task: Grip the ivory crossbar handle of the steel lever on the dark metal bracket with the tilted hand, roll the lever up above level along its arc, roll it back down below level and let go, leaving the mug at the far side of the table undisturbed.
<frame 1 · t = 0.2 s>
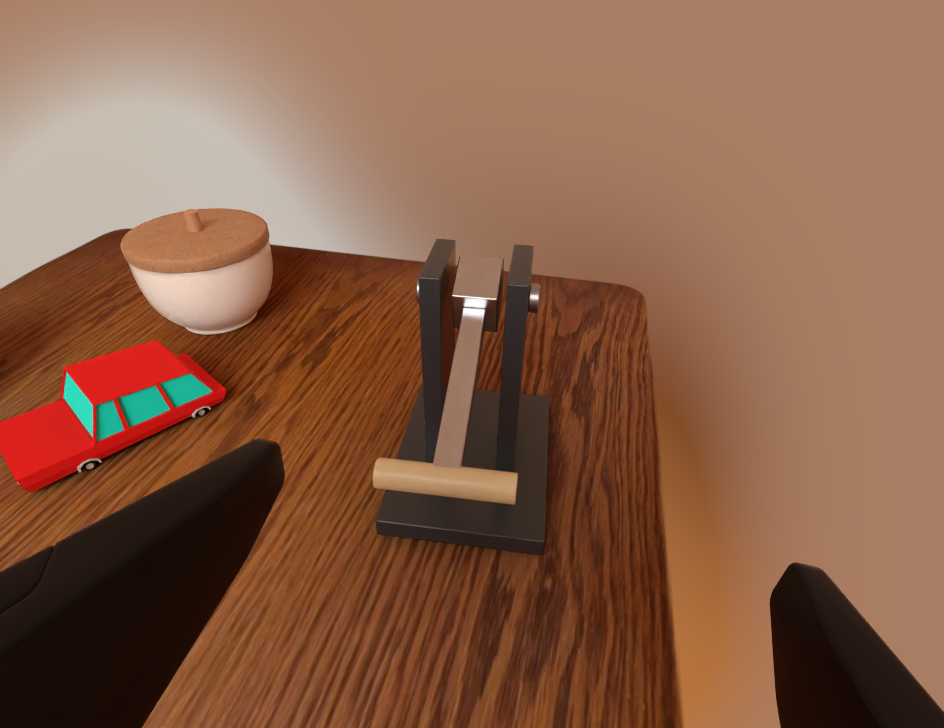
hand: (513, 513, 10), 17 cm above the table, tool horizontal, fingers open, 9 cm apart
lever: (465, 368, 24), point 11 cm above the table, hinge at -18.0°
bracket: (473, 464, 34), on the table
trinket box: (221, 317, 48), on the table
toy car: (122, 426, 36), on the table
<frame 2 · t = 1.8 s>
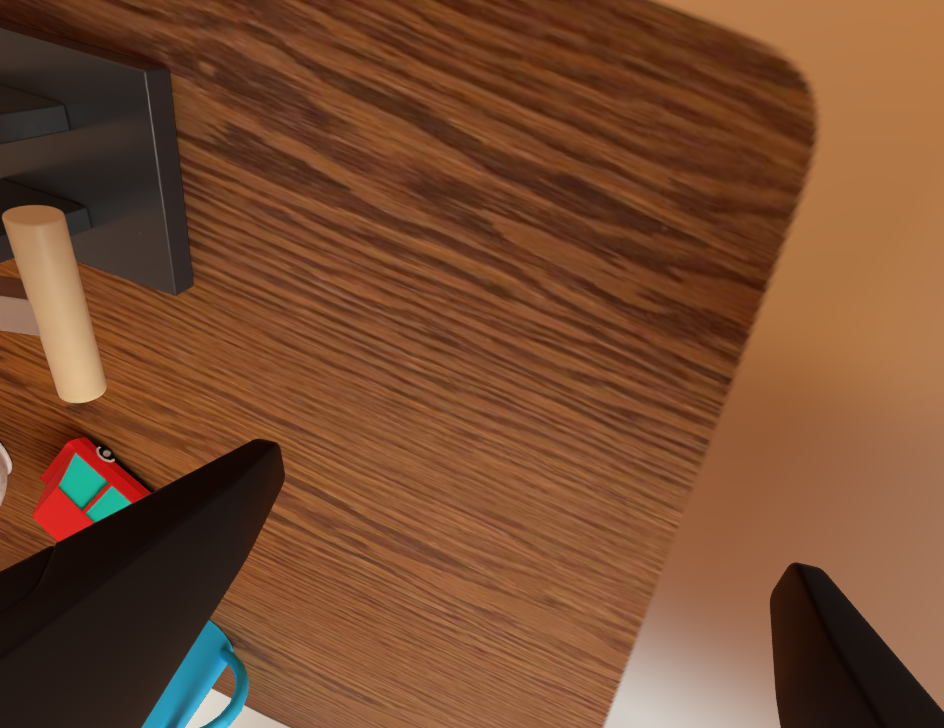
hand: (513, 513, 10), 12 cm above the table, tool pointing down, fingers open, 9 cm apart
bracket: (60, 149, 23), on the table
toy car: (147, 506, 37), on the table
mug: (210, 635, 45), on the table
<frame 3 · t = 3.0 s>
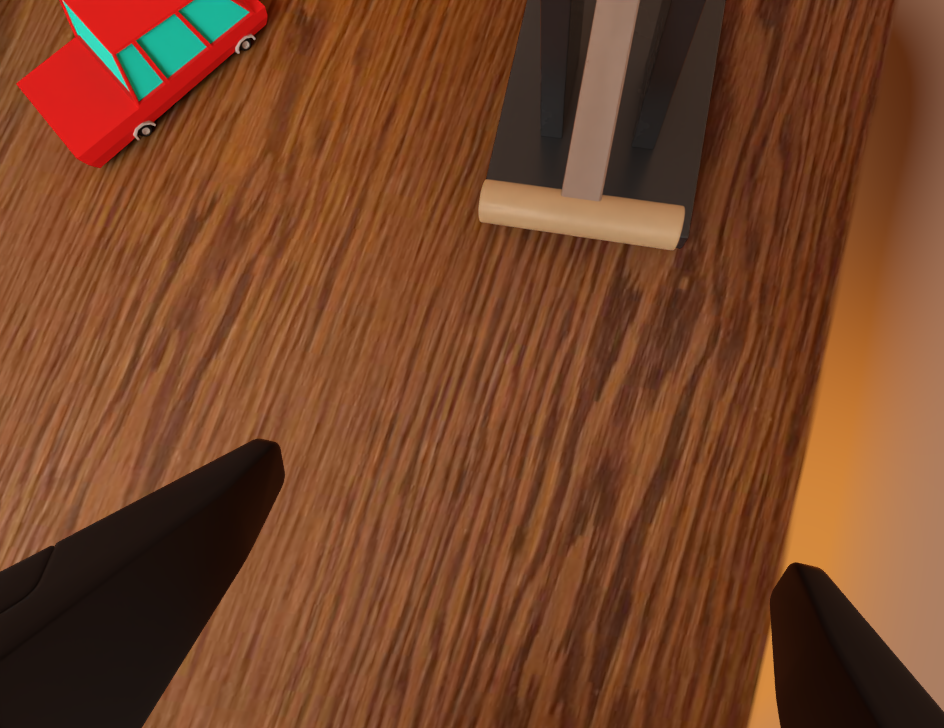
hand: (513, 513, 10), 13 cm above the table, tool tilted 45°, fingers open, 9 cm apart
lever: (616, 9, 15), point 11 cm above the table, hinge at -18.0°
bracket: (601, 116, 26), on the table
toy car: (161, 69, 30), on the table
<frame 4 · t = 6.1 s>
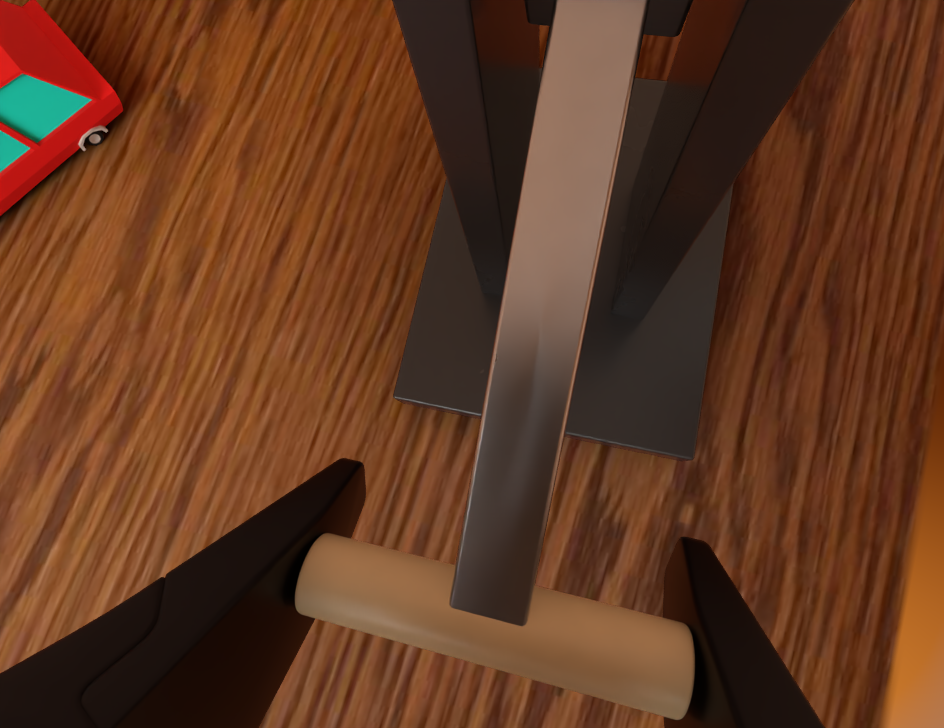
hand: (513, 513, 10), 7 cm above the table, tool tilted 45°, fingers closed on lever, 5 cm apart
lever: (557, 245, 7), point 11 cm above the table, hinge at -18.0°, touching gripper
bracket: (571, 255, 18), on the table
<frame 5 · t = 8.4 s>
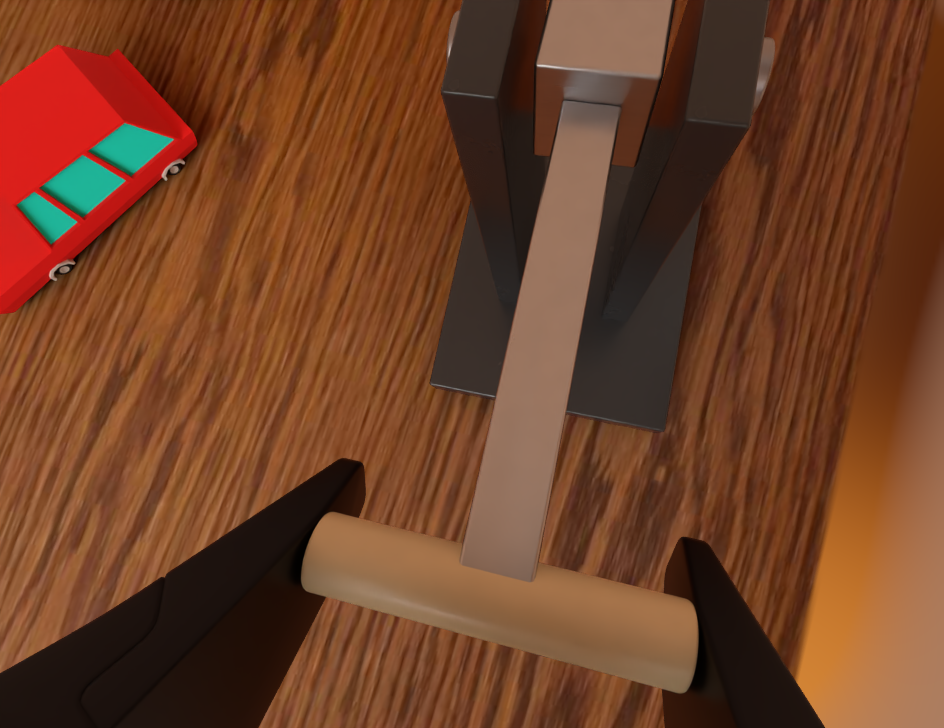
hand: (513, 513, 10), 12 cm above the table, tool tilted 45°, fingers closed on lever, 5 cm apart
lever: (559, 269, 10), point 13 cm above the table, hinge at 8.7°, touching gripper
bracket: (570, 268, 23), on the table
toy car: (83, 192, 26), on the table
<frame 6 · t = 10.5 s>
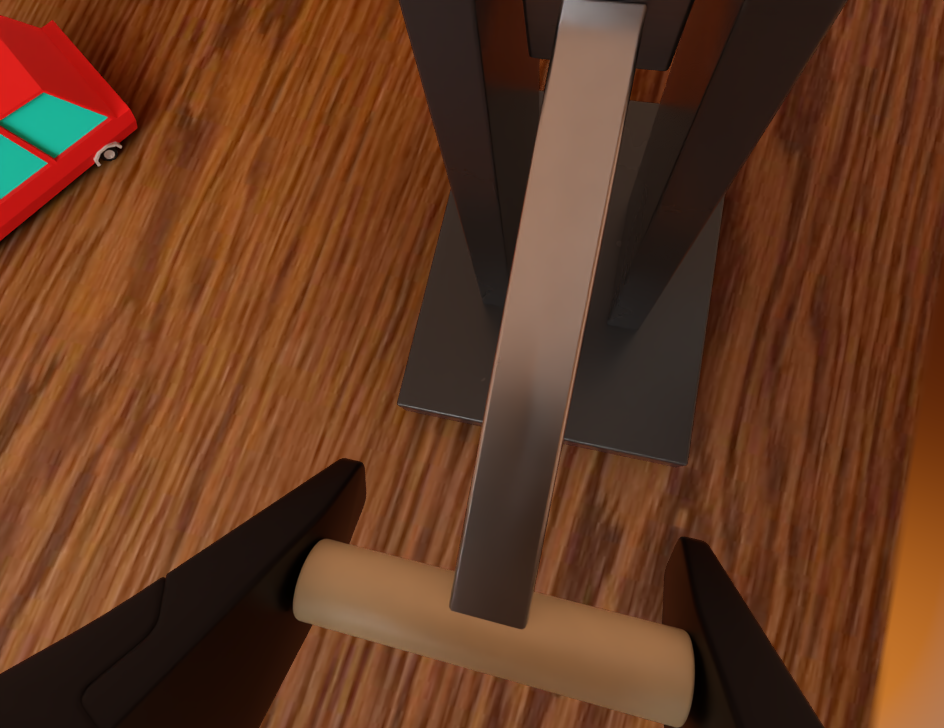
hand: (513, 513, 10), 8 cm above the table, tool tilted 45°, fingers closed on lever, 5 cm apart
lever: (557, 254, 8), point 11 cm above the table, hinge at -14.8°, touching gripper
bracket: (569, 268, 19), on the table
toy car: (5, 180, 23), on the table
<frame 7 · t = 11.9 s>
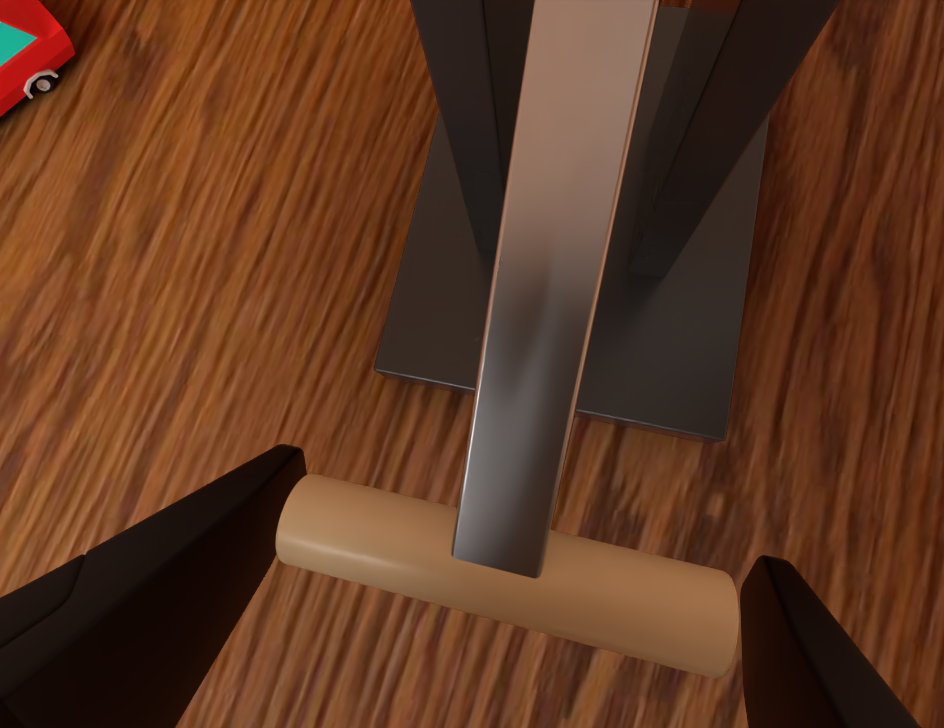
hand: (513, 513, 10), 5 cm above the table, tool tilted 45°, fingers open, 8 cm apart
lever: (578, 109, 5), point 10 cm above the table, hinge at -25.9°
bracket: (579, 209, 16), on the table
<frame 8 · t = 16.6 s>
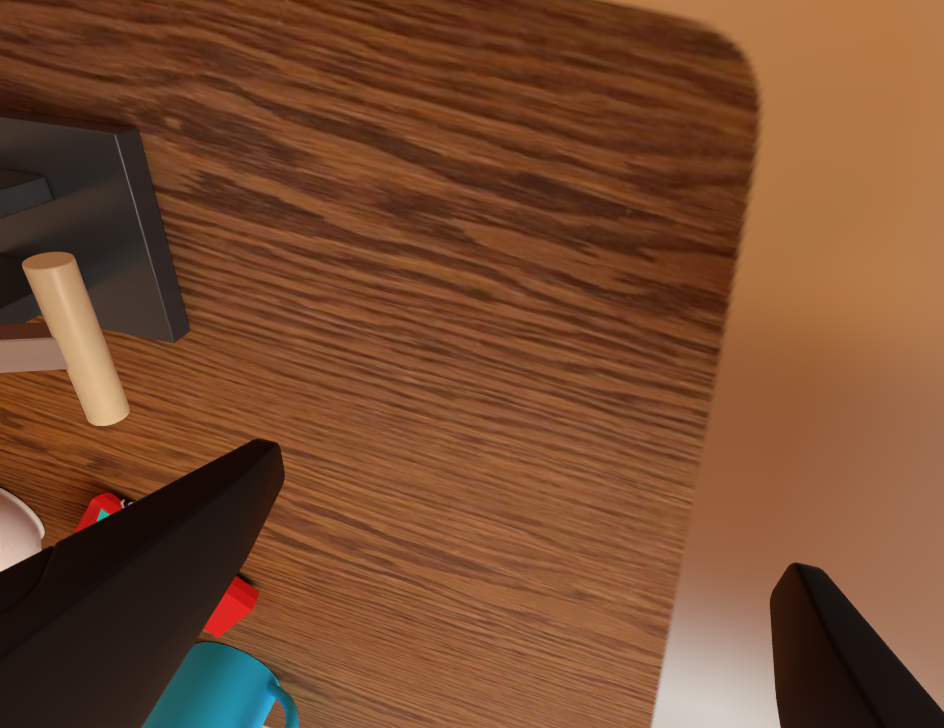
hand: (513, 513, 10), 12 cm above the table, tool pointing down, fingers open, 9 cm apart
bracket: (48, 219, 24), on the table
trinket box: (9, 509, 40), on the table
toy car: (177, 552, 38), on the table
mug: (256, 672, 45), on the table
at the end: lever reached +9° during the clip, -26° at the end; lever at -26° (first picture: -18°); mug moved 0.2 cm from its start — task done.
